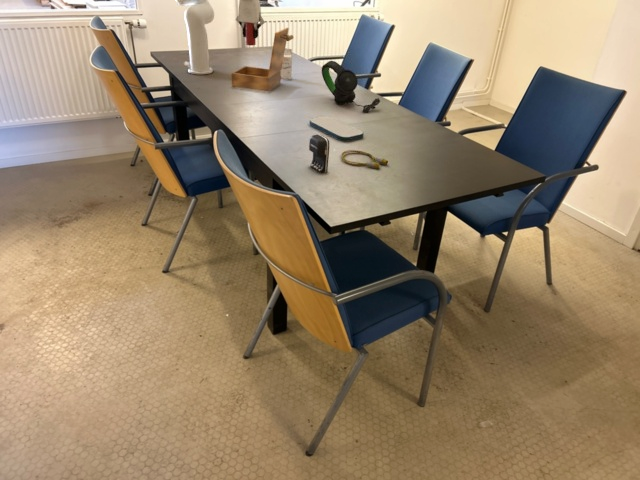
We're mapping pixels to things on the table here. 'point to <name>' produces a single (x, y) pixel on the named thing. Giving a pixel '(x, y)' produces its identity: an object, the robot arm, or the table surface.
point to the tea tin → (250, 33)
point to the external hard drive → (336, 128)
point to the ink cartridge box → (287, 64)
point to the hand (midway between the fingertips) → (250, 36)
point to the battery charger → (319, 153)
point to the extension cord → (370, 164)
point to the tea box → (255, 78)
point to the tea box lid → (278, 51)
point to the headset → (343, 85)
